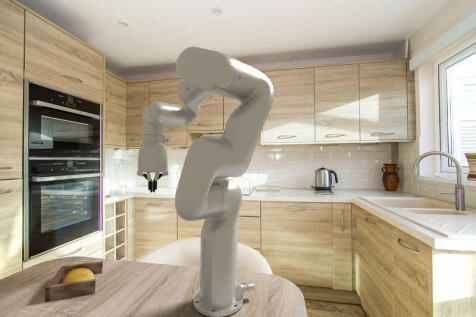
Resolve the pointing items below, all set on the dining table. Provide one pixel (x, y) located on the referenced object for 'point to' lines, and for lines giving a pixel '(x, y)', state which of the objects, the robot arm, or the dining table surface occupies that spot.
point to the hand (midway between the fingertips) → (152, 192)
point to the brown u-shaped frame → (72, 283)
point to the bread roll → (77, 275)
